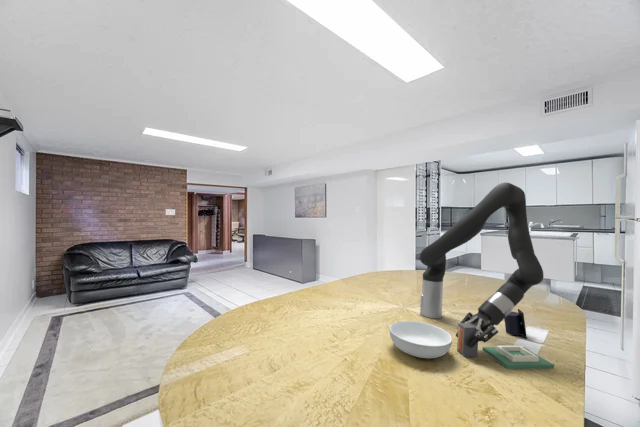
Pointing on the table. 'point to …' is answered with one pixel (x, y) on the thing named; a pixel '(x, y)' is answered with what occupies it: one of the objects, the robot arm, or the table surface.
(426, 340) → the serving bowl
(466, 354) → the gray rectangular block
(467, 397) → the table surface
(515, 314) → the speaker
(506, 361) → the board
